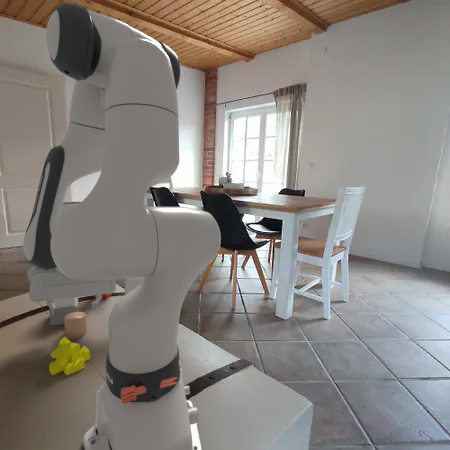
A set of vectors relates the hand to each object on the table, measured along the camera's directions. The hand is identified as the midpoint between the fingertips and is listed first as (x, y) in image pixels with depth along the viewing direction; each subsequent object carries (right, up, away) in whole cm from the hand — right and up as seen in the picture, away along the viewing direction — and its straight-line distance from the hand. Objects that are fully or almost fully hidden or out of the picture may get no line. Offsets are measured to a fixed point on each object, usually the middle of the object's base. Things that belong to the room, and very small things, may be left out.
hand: (75, 311), depth 76 cm
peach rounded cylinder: (0, -6, 0) cm, 6 cm away
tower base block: (-7, -5, +8) cm, 12 cm away
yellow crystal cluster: (+5, -9, -12) cm, 16 cm away
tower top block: (-7, 0, +7) cm, 10 cm away
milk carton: (+15, -6, +7) cm, 18 cm away
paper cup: (-3, -2, +24) cm, 24 cm away
